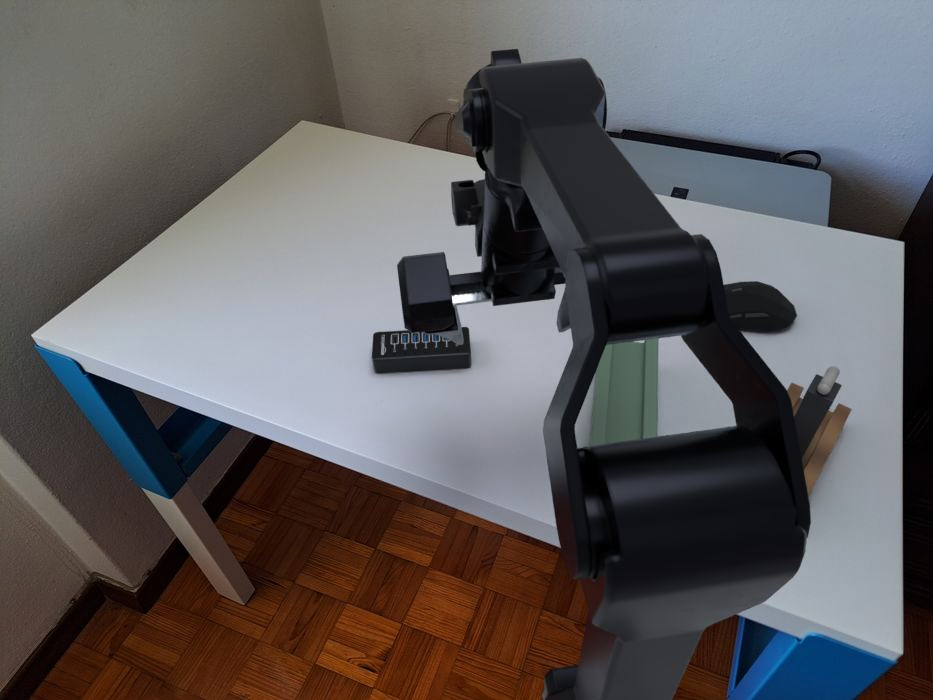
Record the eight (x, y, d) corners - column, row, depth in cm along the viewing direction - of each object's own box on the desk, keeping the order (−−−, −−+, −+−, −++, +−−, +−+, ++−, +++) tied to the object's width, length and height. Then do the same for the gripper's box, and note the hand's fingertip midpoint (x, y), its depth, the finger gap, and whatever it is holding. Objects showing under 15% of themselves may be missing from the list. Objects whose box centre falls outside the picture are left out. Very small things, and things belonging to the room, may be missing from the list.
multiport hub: (471, 367, 77) (470, 353, 75) (374, 373, 77) (371, 359, 75) (469, 340, 80) (468, 325, 78) (375, 345, 80) (373, 331, 78)
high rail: (648, 487, 66) (657, 457, 62) (585, 477, 66) (590, 447, 63) (651, 366, 76) (658, 334, 73) (596, 359, 77) (601, 327, 74)
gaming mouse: (662, 293, 85) (668, 268, 82) (787, 299, 83) (797, 273, 80) (667, 329, 80) (674, 303, 77) (799, 335, 79) (810, 310, 76)
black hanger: (784, 490, 64) (826, 415, 56) (761, 478, 65) (799, 403, 57) (814, 434, 68) (856, 357, 60) (791, 424, 69) (830, 346, 61)
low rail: (786, 538, 61) (794, 524, 60) (722, 503, 64) (728, 488, 62) (842, 424, 70) (852, 408, 68) (784, 397, 73) (791, 382, 71)
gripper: (621, 128, 53) (589, 252, 67) (382, 153, 52) (399, 274, 65) (662, 241, 48) (618, 350, 61) (396, 272, 46) (411, 376, 60)
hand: (510, 333), depth 62 cm, fingers open, 9 cm apart
